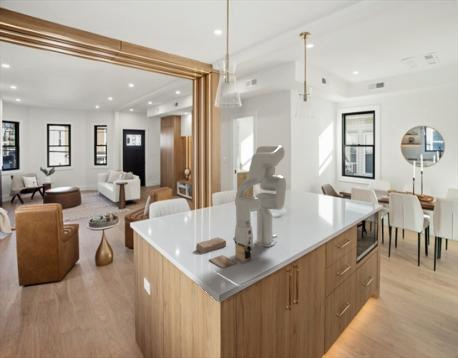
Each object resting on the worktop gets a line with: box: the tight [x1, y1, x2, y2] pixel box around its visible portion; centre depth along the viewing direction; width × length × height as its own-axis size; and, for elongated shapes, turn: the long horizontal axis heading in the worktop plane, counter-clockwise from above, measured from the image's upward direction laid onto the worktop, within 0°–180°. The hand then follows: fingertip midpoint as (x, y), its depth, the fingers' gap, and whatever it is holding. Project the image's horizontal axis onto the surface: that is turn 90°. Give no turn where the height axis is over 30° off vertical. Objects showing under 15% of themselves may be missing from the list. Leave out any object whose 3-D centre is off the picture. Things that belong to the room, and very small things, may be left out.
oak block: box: [234, 244, 253, 261], centre depth 136 cm, size 6×6×7 cm
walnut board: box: [208, 254, 238, 269], centre depth 131 cm, size 9×12×1 cm
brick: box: [195, 237, 227, 254], centre depth 151 cm, size 16×8×5 cm, turn 129°
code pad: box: [228, 254, 259, 265], centre depth 136 cm, size 11×11×1 cm
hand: (243, 255), depth 136 cm, fingers closed on oak block, 6 cm apart
